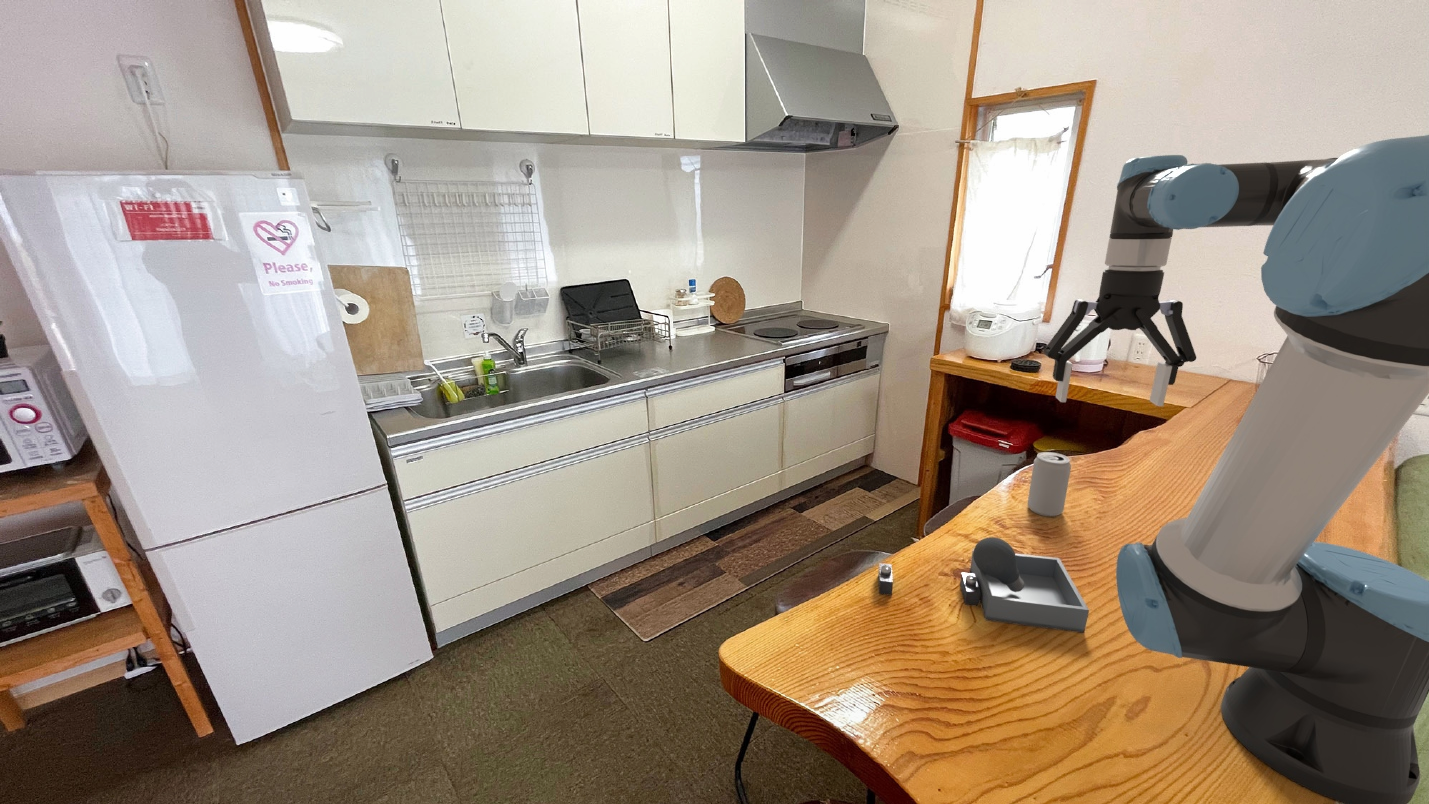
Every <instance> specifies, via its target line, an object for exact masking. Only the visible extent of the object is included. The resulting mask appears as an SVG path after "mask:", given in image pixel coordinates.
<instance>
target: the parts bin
mask: <svg viewBox="0 0 1429 804" xmlns="http://www.w3.org/2000/svg"><path fill="white" fill-rule="evenodd" d="M973 552H974V548H972V552H971V559H970V566H969V569H970V573H971V574H975V576H976V578H977V583H978V586H979V589H980V592H981V594H980V602H979V604H980V606H981V609H982V613H983V616H984V619H985V621H990V622H998V623H1006V624H1012V625H1013V624H1014V625H1020V626H1029V627H1037V628H1041V629H1042V628H1043V629H1051V630H1056V631H1057V630H1059V631H1068V632H1074V633H1080V634H1085V632H1086V627H1087V622H1088V618H1089V612H1090V609H1089V607H1088V606H1087V604H1086V602H1085V600H1084V599H1083V597H1082V595H1081V593H1080V591H1079V590H1078V588H1077V586H1076V584H1075V583H1074V581H1073V579H1072V578H1071V576H1070V574H1069V573H1068V571H1067V569H1066V568H1065V565H1064V564H1063V561H1062V559H1061V558H1060V557H1054V556H1053V557H1052V556H1043V555H1032V554H1023V553H1015V555H1016V567H1017V569H1018V571H1019V576H1020V577H1021V579H1022V580H1023V581H1024V588H1023V589H1022V590H1021V591H1019V592H1013V591H1011V590H1010V589H1009V588H1008V587H1007V585H1006V584H1003V583H1002V582H1000V581H999V579H997V578H995V577H992V576H989V575H987V574H985V573H984V572H982V571H981V570H980V569H979V568H978V567H977V566H976V563H975V561H974V558H973Z"/></svg>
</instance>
